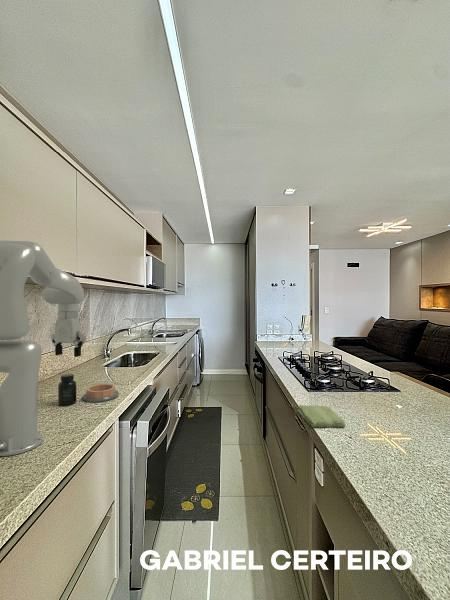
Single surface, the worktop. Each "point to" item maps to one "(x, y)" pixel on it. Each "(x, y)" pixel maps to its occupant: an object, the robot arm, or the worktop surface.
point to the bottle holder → (100, 393)
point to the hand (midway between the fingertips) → (68, 355)
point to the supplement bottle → (67, 390)
